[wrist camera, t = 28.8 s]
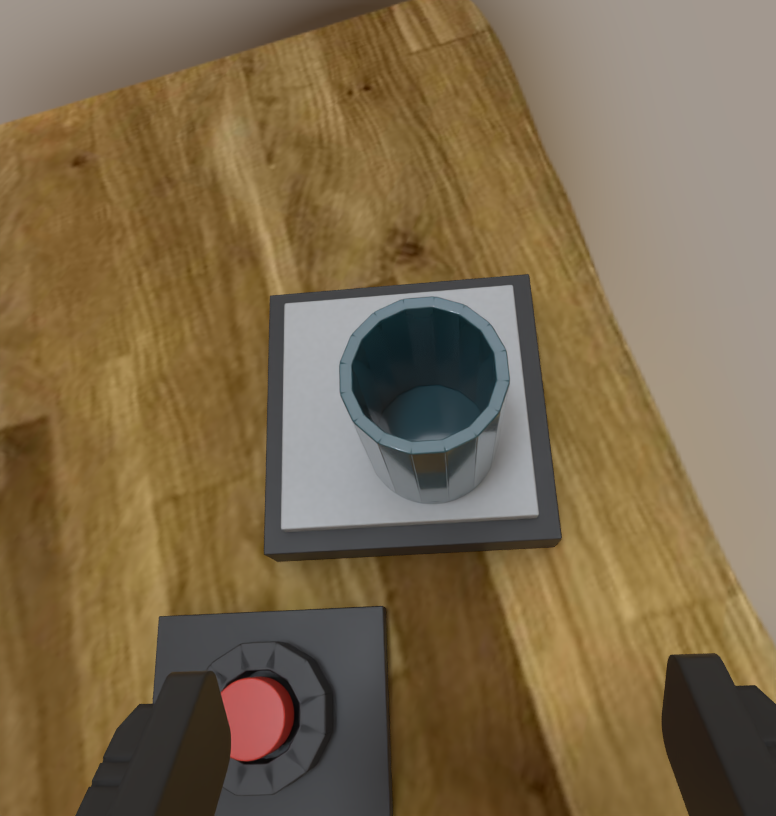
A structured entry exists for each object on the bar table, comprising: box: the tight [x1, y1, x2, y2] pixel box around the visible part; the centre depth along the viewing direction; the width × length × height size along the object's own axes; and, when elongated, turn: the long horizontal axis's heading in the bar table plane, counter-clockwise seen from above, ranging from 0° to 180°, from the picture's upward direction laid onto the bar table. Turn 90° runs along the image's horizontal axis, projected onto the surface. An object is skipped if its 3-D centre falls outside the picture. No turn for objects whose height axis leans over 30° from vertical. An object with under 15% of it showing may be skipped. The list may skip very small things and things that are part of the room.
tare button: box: [221, 677, 294, 761], centre depth 30 cm, size 3×3×2 cm
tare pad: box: [153, 606, 393, 816], centre depth 31 cm, size 11×9×3 cm
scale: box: [264, 274, 562, 561], centre depth 36 cm, size 14×14×3 cm
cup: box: [339, 296, 510, 504], centre depth 29 cm, size 6×6×8 cm
